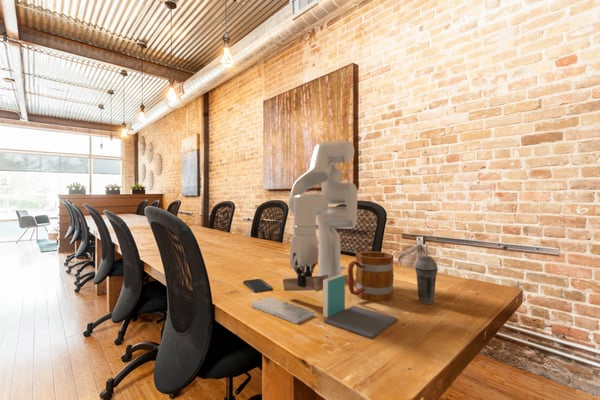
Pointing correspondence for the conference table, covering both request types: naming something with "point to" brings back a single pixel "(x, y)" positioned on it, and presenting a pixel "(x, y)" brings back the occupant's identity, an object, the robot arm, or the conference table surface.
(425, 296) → the beverage cup
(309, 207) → the robot arm
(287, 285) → the brown t-shaped post
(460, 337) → the conference table surface
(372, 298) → the mug
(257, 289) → the phone
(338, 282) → the tile
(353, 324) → the mat
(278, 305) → the tool rest
